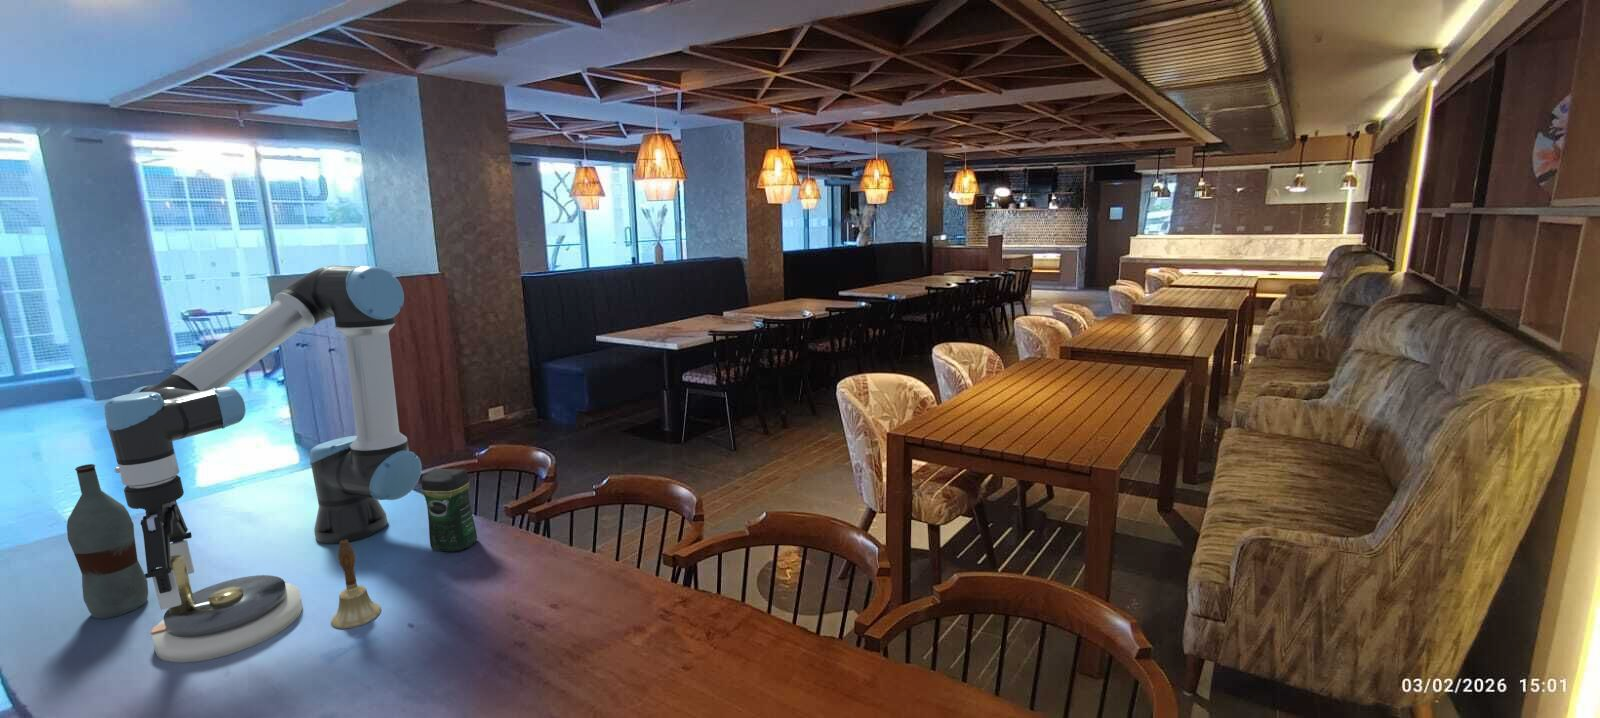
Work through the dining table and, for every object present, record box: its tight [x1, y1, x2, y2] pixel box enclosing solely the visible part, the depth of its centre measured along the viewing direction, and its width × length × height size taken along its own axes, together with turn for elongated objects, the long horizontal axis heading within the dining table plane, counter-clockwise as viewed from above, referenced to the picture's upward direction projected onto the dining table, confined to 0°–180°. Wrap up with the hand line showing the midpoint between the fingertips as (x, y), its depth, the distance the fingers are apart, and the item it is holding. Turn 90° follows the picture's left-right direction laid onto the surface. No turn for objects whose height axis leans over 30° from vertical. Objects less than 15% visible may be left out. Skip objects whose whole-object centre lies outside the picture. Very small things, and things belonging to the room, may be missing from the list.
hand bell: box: [330, 539, 382, 630], centre depth 136 cm, size 8×8×16 cm
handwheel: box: [158, 555, 287, 637], centre depth 133 cm, size 18×18×12 cm
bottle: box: [66, 463, 149, 620], centre depth 140 cm, size 9×9×30 cm
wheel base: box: [150, 582, 303, 664], centre depth 135 cm, size 22×22×4 cm
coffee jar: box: [421, 468, 478, 552], centre depth 164 cm, size 10×8×19 cm
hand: (178, 589), depth 130 cm, fingers open, 13 cm apart
